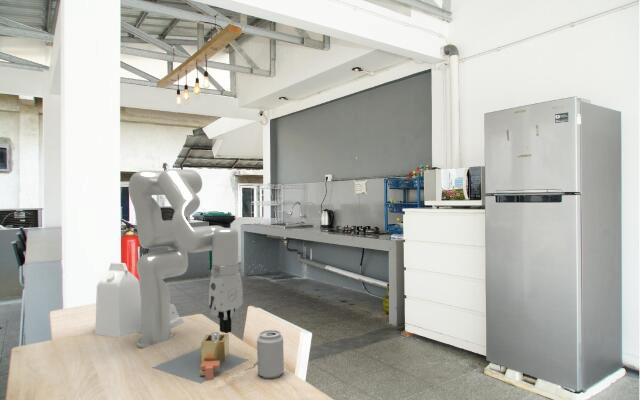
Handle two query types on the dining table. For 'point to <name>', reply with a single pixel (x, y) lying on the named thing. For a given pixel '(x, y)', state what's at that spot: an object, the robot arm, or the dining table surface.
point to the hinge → (174, 317)
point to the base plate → (196, 365)
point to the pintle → (215, 336)
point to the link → (214, 349)
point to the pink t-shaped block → (209, 368)
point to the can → (270, 354)
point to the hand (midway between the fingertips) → (225, 331)
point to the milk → (118, 302)
